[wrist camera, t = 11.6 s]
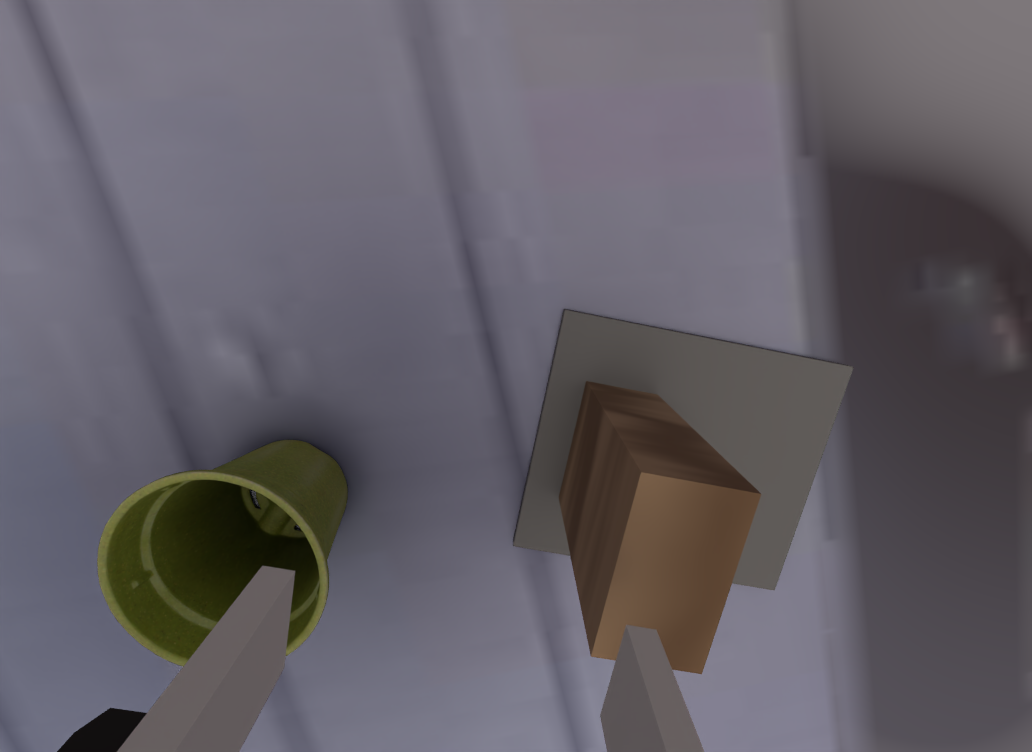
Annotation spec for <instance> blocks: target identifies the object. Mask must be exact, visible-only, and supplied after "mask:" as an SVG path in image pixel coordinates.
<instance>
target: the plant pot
mask: <svg viewBox="0 0 1032 752" xmlns="http://www.w3.org/2000/svg"><path fill="white" fill-rule="evenodd" d="M250 490H253V491H256V499H257V501H258V503H259V506H260V507H261V508H260V509H258V508H256V507H255V505H254V504H253V501H252V499H251V496H250ZM347 494H348V490H347V483H346V480H345V477H344V474H343V472H342V470H341V468H340V467H339V465H338V464H337V462H336V461H335V460H334V459H333V458H332V457H331V456H329V455H327V454H325V453H323V452H322V451H320V450H319V449H317V448H315V447H314V446H312V445H311V444H309V443H307V442H303V441H298V440H281V441H276V442H272V443H270V444H267V445H265V446H263V447H261V448H258V449H256V450H254V451H252V452H250V453H248V454H246V455H244V456H242V457H239V458H237V459H235V460H233V461H231V462H228V463H226V464H224V465H222V466H219V467H217V468H215V469H213V470H191V471H185V472H180V473H175V474H172V475H169V476H166V477H163V478H160V479H158V480H156V481H154V482H152V483H150V484H148V485H146V486H144V487H142V488H140V489H139V490H137V491H136V492H134V493H133V494H132V495H130V496H129V497H128V498H127V499H126V500H125V501H123V502H122V503H121V504H120V506H119V507H118V508H117V509H116V510H115V512H114V513H113V515H112V516H111V518H110V519H109V521H108V522H107V524H106V525H105V528H104V531H103V533H102V536H101V539H100V543H99V547H98V559H97V565H98V577H99V583H100V587H101V590H102V593H103V595H104V598H105V600H106V602H107V604H108V606H109V609H110V610H111V612H112V614H113V615H114V616H115V618H116V619H117V621H118V622H119V623H120V624H121V625H122V626H123V628H124V629H125V630H126V631H127V632H128V633H129V634H130V635H131V636H132V637H133V638H135V639H136V640H137V641H138V642H139V643H140V644H141V645H142V646H144V647H146V648H147V649H149V650H150V651H152V652H153V653H154V654H156V655H158V656H160V657H162V658H163V659H166V660H167V661H170V662H172V663H175V664H177V665H180V666H183V667H184V665H185V664H186V663H187V661H188V660H189V659H190V658H191V656H192V655H193V654H194V653H195V651H196V650H197V649H198V647H199V646H200V645H201V644H202V642H203V641H204V640H205V638H206V637H207V636H208V635H209V633H210V632H211V631H212V629H213V628H214V627H215V626H216V624H217V623H218V622H219V621H220V619H221V618H222V617H223V615H224V614H225V613H226V612H227V610H228V609H229V608H230V606H231V605H232V604H233V603H234V601H235V600H236V599H237V597H238V596H239V595H240V594H241V592H242V591H243V590H244V589H245V587H246V586H247V585H248V583H249V582H250V581H251V580H252V578H253V577H254V576H255V574H256V573H257V572H258V571H259V569H260V568H261V567H262V566H268V567H274V568H280V569H286V570H293V571H295V577H294V586H293V595H292V604H291V612H290V621H289V630H288V639H287V647H286V656H287V655H289V654H290V653H291V652H293V651H294V650H296V649H297V648H298V647H299V646H300V645H301V644H302V643H303V642H304V641H305V640H306V639H307V638H308V637H309V635H310V634H311V633H312V632H313V630H314V628H315V627H316V625H317V623H318V622H319V620H320V618H321V615H322V613H323V610H324V607H325V604H326V600H327V596H328V590H329V571H328V565H327V558H328V556H329V553H330V550H331V547H332V544H333V541H334V538H335V535H336V533H337V530H338V527H339V524H340V522H341V519H342V516H343V513H344V510H345V507H346V503H347ZM295 525H298V526H299V527H300V528H301V530H296V529H294V526H295Z"/></svg>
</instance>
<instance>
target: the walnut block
mask: <svg viewBox="0 0 1032 752" xmlns="http://www.w3.org/2000/svg"><path fill="white" fill-rule="evenodd" d="M760 497H761V493H760V492H759V491H758V490H757V489H756V488H755V487H754V486H753V485H752V484H751V483H749V482H748V481H747V480H746V479H745V478H744V477H743V476H742V475H741V474H740V473H739V472H738V471H737V470H736V469H735V468H734V467H733V466H732V465H731V464H730V463H729V462H728V461H726V460H725V459H724V458H723V457H722V456H721V455H720V454H719V453H718V452H717V451H716V450H715V449H714V448H713V447H712V446H711V445H710V444H709V443H708V442H707V441H706V440H705V439H704V438H702V437H701V436H700V435H699V434H698V433H697V432H696V431H695V430H694V429H693V428H692V427H691V426H690V425H689V424H688V423H687V422H686V421H685V420H684V419H683V418H682V417H681V416H679V415H678V414H677V413H676V412H675V411H674V410H673V409H672V408H671V407H670V406H669V405H668V404H667V403H666V402H665V401H664V400H663V399H662V398H661V397H660V396H659V395H657V394H652V393H647V392H642V391H636V390H631V389H626V388H621V387H615V386H610V385H605V384H600V383H594V382H589V381H586V384H585V388H584V392H583V397H582V401H581V405H580V409H579V414H578V418H577V422H576V426H575V430H574V435H573V439H572V443H571V447H570V452H569V456H568V460H567V464H566V469H565V473H564V477H563V481H562V486H561V490H560V494H559V502H560V507H561V512H562V517H563V522H564V527H565V532H566V536H567V541H568V546H569V551H570V556H571V561H572V566H573V571H574V576H575V580H576V585H577V590H578V595H579V600H580V605H581V610H582V615H583V620H584V625H585V629H586V634H587V639H588V644H589V649H590V654H591V657H597V658H604V659H610V660H616V659H617V655H618V651H619V648H620V644H621V641H622V637H623V634H624V630H625V627H626V625H631V626H637V627H643V628H650V629H656V630H657V633H658V635H659V638H660V640H661V643H662V645H663V648H664V650H665V653H666V656H667V658H668V661H669V663H670V666H671V668H672V669H673V670H679V671H685V672H692V673H698V674H702V672H703V669H704V666H705V663H706V660H707V657H708V654H709V651H710V648H711V645H712V642H713V639H714V636H715V633H716V629H717V626H718V623H719V620H720V617H721V614H722V611H723V608H724V605H725V602H726V599H727V596H728V593H729V590H730V587H731V584H732V581H733V578H734V575H735V572H736V569H737V566H738V563H739V560H740V557H741V554H742V551H743V548H744V545H745V542H746V539H747V536H748V533H749V530H750V527H751V524H752V521H753V518H754V515H755V512H756V509H757V506H758V503H759V500H760Z"/></svg>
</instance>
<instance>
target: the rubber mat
mask: <svg viewBox="0 0 1032 752" xmlns="http://www.w3.org/2000/svg"><path fill="white" fill-rule="evenodd" d="M852 370H853V367H851V366H848V365H844V364H839V363H834V362H829V361H824V360H819V359H814V358H809V357H804V356H799V355H794V354H789V353H784V352H779V351H774V350H769V349H764V348H759V347H754V346H749V345H744V344H739V343H733V342H728V341H723V340H718V339H713V338H708V337H703V336H698V335H693V334H688V333H683V332H678V331H673V330H668V329H663V328H658V327H653V326H648V325H643V324H638V323H633V322H628V321H623V320H617V319H612V318H607V317H602V316H597V315H592V314H587V313H582V312H577V311H572V310H567V309H564V311H563V315H562V320H561V325H560V329H559V334H558V338H557V343H556V347H555V352H554V357H553V361H552V366H551V370H550V375H549V379H548V384H547V389H546V393H545V398H544V402H543V407H542V411H541V416H540V421H539V425H538V430H537V434H536V439H535V444H534V448H533V453H532V457H531V462H530V466H529V471H528V476H527V480H526V485H525V489H524V494H523V498H522V503H521V508H520V512H519V517H518V521H517V526H516V530H515V535H514V540H513V546H516V547H522V548H528V549H534V550H540V551H545V552H551V553H557V554H563V555H569V556H570V551H569V546H568V541H567V536H566V532H565V527H564V522H563V517H562V512H561V507H560V502H559V494H560V490H561V486H562V481H563V477H564V473H565V469H566V464H567V460H568V456H569V452H570V447H571V443H572V439H573V435H574V430H575V426H576V422H577V418H578V414H579V409H580V405H581V401H582V397H583V392H584V388H585V384H586V381H589V382H594V383H600V384H605V385H610V386H615V387H621V388H626V389H631V390H636V391H642V392H647V393H652V394H657V395H659V396H660V397H661V398H662V399H663V400H664V401H665V402H666V403H667V404H668V405H669V406H670V407H671V408H672V409H673V410H674V411H675V412H676V413H677V414H678V415H679V416H681V417H682V418H683V419H684V420H685V421H686V422H687V423H688V424H689V425H690V426H691V427H692V428H693V429H694V430H695V431H696V432H697V433H698V434H699V435H700V436H701V437H702V438H704V439H705V440H706V441H707V442H708V443H709V444H710V445H711V446H712V447H713V448H714V449H715V450H716V451H717V452H718V453H719V454H720V455H721V456H722V457H723V458H724V459H725V460H726V461H728V462H729V463H730V464H731V465H732V466H733V467H734V468H735V469H736V470H737V471H738V472H739V473H740V474H741V475H742V476H743V477H744V478H745V479H746V480H747V481H748V482H749V483H751V484H752V485H753V486H754V487H755V488H756V489H757V490H758V491H759V492H760V493H761V497H760V500H759V503H758V506H757V509H756V512H755V515H754V518H753V521H752V524H751V527H750V530H749V533H748V536H747V539H746V542H745V545H744V548H743V551H742V554H741V557H740V560H739V563H738V566H737V569H736V572H735V575H734V578H733V581H732V583H734V584H740V585H746V586H751V587H757V588H763V589H769V590H775V587H776V585H777V582H778V579H779V576H780V573H781V570H782V568H783V565H784V562H785V559H786V556H787V553H788V551H789V548H790V545H791V542H792V539H793V537H794V534H795V531H796V528H797V525H798V522H799V520H800V517H801V514H802V511H803V508H804V505H805V503H806V500H807V497H808V494H809V491H810V489H811V486H812V483H813V480H814V477H815V474H816V472H817V469H818V466H819V463H820V460H821V458H822V455H823V452H824V449H825V446H826V443H827V441H828V438H829V435H830V432H831V429H832V426H833V424H834V421H835V418H836V415H837V412H838V410H839V407H840V404H841V401H842V398H843V395H844V393H845V390H846V387H847V384H848V381H849V378H850V376H851V373H852Z"/></svg>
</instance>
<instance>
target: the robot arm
mask: <svg viewBox="0 0 1032 752" xmlns="http://www.w3.org/2000/svg"><path fill="white" fill-rule="evenodd" d="M294 577H295V571H293V570H286V569H280V568H274V567H268V566H262V567H261V568H260V569H259V571H258V572H257V573H256V574H255V576H254V577H253V578H252V580H251V581H250V582H249V583H248V585H247V586H246V587H245V589H244V590H243V591H242V592H241V594H240V595H239V596H238V597H237V599H236V600H235V601H234V603H233V604H232V605H231V606H230V608H229V609H228V610H227V612H226V613H225V614H224V615H223V617H222V618H221V619H220V621H219V622H218V623H217V624H216V626H215V627H214V628H213V629H212V631H211V632H210V633H209V635H208V636H207V637H206V638H205V640H204V641H203V642H202V644H201V645H200V646H199V647H198V649H197V650H196V651H195V653H194V654H193V655H192V656H191V658H190V659H189V660H188V661H187V663H186V664H185V665H184V667H183V668H182V669H181V670H180V672H179V673H178V674H177V676H176V677H175V678H174V679H173V681H172V682H171V683H170V684H169V686H168V687H167V688H166V690H165V691H164V692H163V693H162V695H161V696H160V697H159V699H158V700H157V701H156V702H155V704H154V705H153V706H152V708H151V709H150V710H149V711H148V713H142V712H135V711H128V710H122V709H115V708H110V709H108V710H107V711H105V712H104V713H102V714H101V715H99V716H98V717H96V718H95V719H94V720H92V721H91V722H89V723H88V724H86V725H85V726H83V727H82V728H80V729H79V730H78V731H76V732H75V733H74V734H73V735H72V736H71V737H70V738H69V739H68V740H67V741H66V742H65V744H64V745H63V746H62V747H61V748H60V749H59V750H58V751H57V752H239V751H240V749H241V747H242V745H243V744H244V742H245V740H246V738H247V736H248V734H249V732H250V731H251V729H252V727H253V725H254V723H255V721H256V719H257V718H258V716H259V714H260V712H261V710H262V708H263V706H264V705H265V703H266V701H267V699H268V697H269V695H270V693H271V692H272V690H273V688H274V686H275V684H276V682H277V680H278V678H279V677H280V675H281V673H282V671H283V669H284V665H285V656H286V647H287V639H288V630H289V621H290V612H291V604H292V595H293V586H294ZM600 717H601V722H602V727H603V732H604V738H605V743H606V748H607V752H704V750H703V747H702V745H701V742H700V740H699V737H698V734H697V732H696V729H695V727H694V724H693V722H692V719H691V717H690V714H689V712H688V709H687V706H686V704H685V701H684V699H683V696H682V694H681V691H680V689H679V686H678V684H677V681H676V678H675V676H674V673H673V671H672V668H671V666H670V663H669V661H668V658H667V656H666V653H665V650H664V648H663V645H662V643H661V640H660V638H659V635H658V633H657V630H656V629H650V628H643V627H637V626H631V625H626V627H625V630H624V634H623V637H622V641H621V644H620V648H619V651H618V655H617V659H616V662H615V666H614V669H613V673H612V676H611V680H610V683H609V687H608V690H607V694H606V697H605V701H604V704H603V708H602V711H601V715H600Z"/></svg>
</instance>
